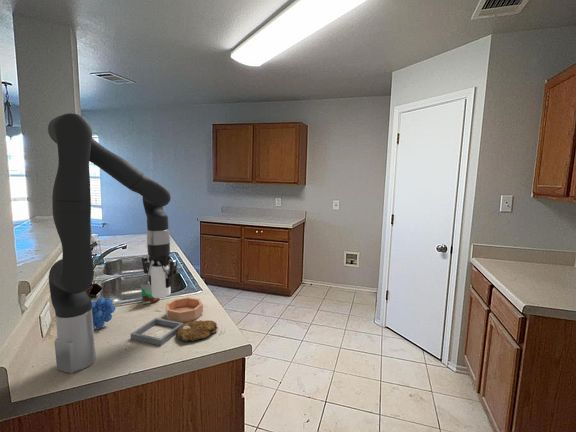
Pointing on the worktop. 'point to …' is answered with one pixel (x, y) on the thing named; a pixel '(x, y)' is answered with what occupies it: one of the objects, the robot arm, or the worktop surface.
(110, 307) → the grapes
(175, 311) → the bowl
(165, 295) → the can
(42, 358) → the worktop surface
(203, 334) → the decorative rock
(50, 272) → the robot arm
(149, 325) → the tray
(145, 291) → the food container
